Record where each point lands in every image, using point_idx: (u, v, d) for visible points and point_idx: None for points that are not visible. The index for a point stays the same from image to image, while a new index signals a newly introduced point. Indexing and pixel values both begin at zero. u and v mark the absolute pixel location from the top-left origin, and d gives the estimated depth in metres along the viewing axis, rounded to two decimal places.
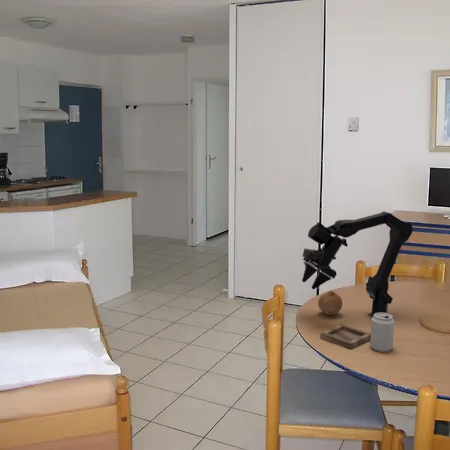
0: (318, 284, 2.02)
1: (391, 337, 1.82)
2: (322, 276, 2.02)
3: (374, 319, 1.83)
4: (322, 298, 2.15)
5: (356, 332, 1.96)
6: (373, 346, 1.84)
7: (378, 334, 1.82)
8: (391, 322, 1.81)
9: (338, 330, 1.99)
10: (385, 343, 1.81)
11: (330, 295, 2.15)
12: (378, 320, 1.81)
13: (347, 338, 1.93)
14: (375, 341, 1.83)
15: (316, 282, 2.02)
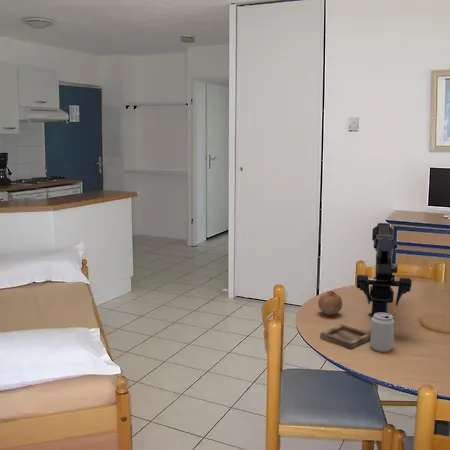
0: None
1: (391, 337, 1.82)
2: None
3: (374, 319, 1.83)
4: (322, 298, 2.15)
5: (356, 332, 1.96)
6: (373, 346, 1.84)
7: (378, 334, 1.82)
8: (391, 322, 1.81)
9: (338, 330, 1.99)
10: (385, 343, 1.82)
11: (330, 295, 2.15)
12: (378, 320, 1.81)
13: (347, 338, 1.93)
14: (375, 341, 1.83)
15: (399, 297, 1.90)
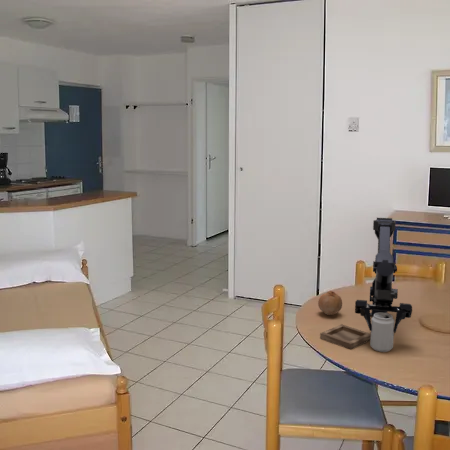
0: (397, 326, 1.84)
1: (391, 337, 1.82)
2: None
3: (374, 319, 1.83)
4: (322, 298, 2.15)
5: (356, 332, 1.96)
6: (373, 346, 1.84)
7: (378, 334, 1.82)
8: (391, 322, 1.81)
9: (338, 330, 1.99)
10: (385, 343, 1.81)
11: (330, 295, 2.15)
12: (378, 320, 1.81)
13: (347, 338, 1.93)
14: (375, 341, 1.83)
15: (397, 324, 1.83)
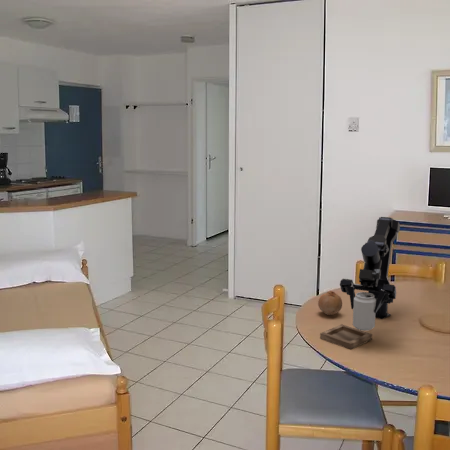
0: (379, 306, 1.85)
1: (371, 316, 1.84)
2: None
3: (355, 298, 1.86)
4: (322, 298, 2.15)
5: (356, 332, 1.96)
6: (354, 324, 1.87)
7: (358, 313, 1.85)
8: (371, 301, 1.83)
9: (338, 330, 1.99)
10: (364, 322, 1.84)
11: (330, 295, 2.15)
12: (358, 299, 1.84)
13: (347, 338, 1.93)
14: (355, 319, 1.86)
15: (379, 304, 1.85)
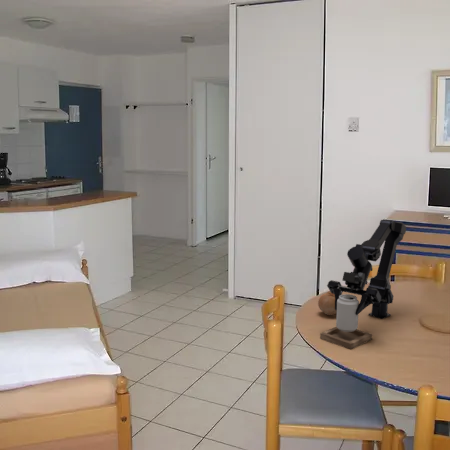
0: (361, 309, 1.90)
1: (352, 318, 1.89)
2: (365, 300, 1.90)
3: (338, 299, 1.92)
4: (322, 298, 2.15)
5: (356, 332, 1.96)
6: (336, 325, 1.93)
7: (339, 314, 1.90)
8: (352, 304, 1.88)
9: (338, 330, 1.99)
10: (345, 323, 1.89)
11: (330, 295, 2.15)
12: (340, 300, 1.90)
13: (347, 338, 1.93)
14: (337, 320, 1.92)
15: (361, 307, 1.89)
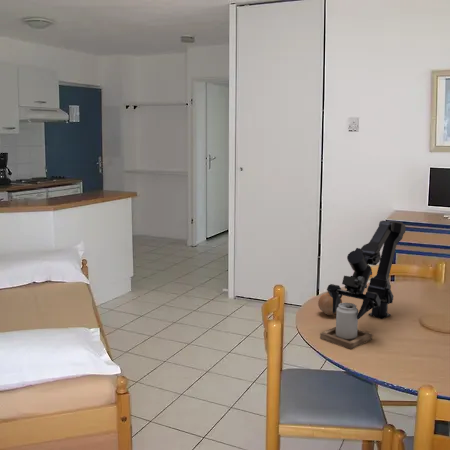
0: (363, 313, 1.89)
1: (351, 327, 1.89)
2: None
3: (337, 308, 1.92)
4: (322, 298, 2.15)
5: None
6: (336, 333, 1.93)
7: (339, 322, 1.91)
8: (351, 312, 1.88)
9: None
10: (345, 332, 1.90)
11: None
12: (339, 309, 1.91)
13: None
14: (337, 328, 1.92)
15: (362, 311, 1.88)
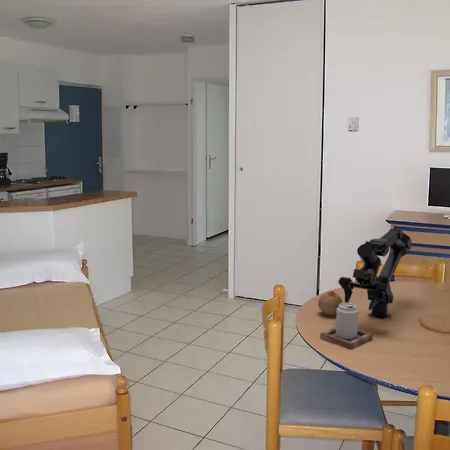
0: (374, 304, 1.96)
1: (352, 327, 1.89)
2: None
3: (338, 308, 1.92)
4: (322, 298, 2.15)
5: None
6: (336, 333, 1.93)
7: (339, 322, 1.91)
8: (351, 312, 1.89)
9: None
10: (345, 332, 1.90)
11: (330, 295, 2.15)
12: (340, 309, 1.91)
13: None
14: (337, 328, 1.92)
15: (373, 302, 1.95)
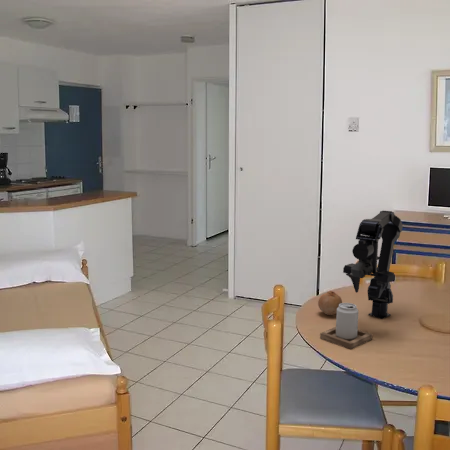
0: (381, 291, 1.97)
1: (352, 327, 1.89)
2: None
3: (338, 308, 1.92)
4: (322, 298, 2.15)
5: None
6: (336, 333, 1.93)
7: (339, 322, 1.91)
8: (351, 312, 1.89)
9: None
10: (345, 332, 1.90)
11: (330, 295, 2.15)
12: (340, 309, 1.91)
13: None
14: (337, 328, 1.92)
15: (380, 291, 1.97)
